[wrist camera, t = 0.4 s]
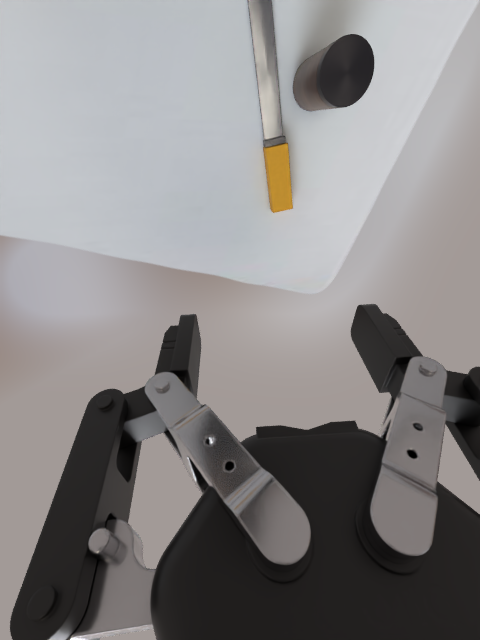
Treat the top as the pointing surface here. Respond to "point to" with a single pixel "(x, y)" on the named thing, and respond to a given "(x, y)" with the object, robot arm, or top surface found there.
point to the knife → (270, 105)
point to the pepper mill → (335, 75)
